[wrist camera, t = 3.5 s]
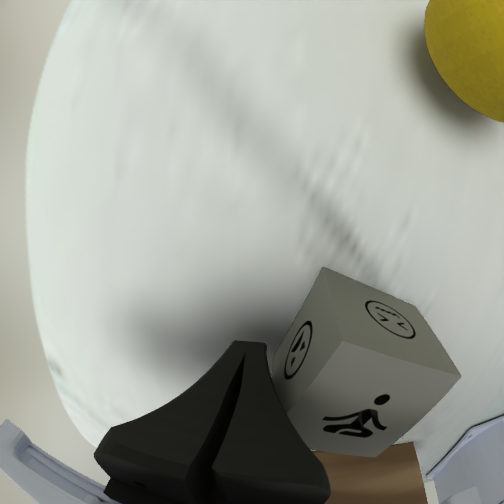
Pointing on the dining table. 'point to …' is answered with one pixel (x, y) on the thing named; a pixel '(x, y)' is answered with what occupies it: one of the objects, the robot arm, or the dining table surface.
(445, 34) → the lemon
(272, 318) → the dining table surface
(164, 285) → the dining table surface
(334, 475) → the brown wooden block
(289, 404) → the dice cube
